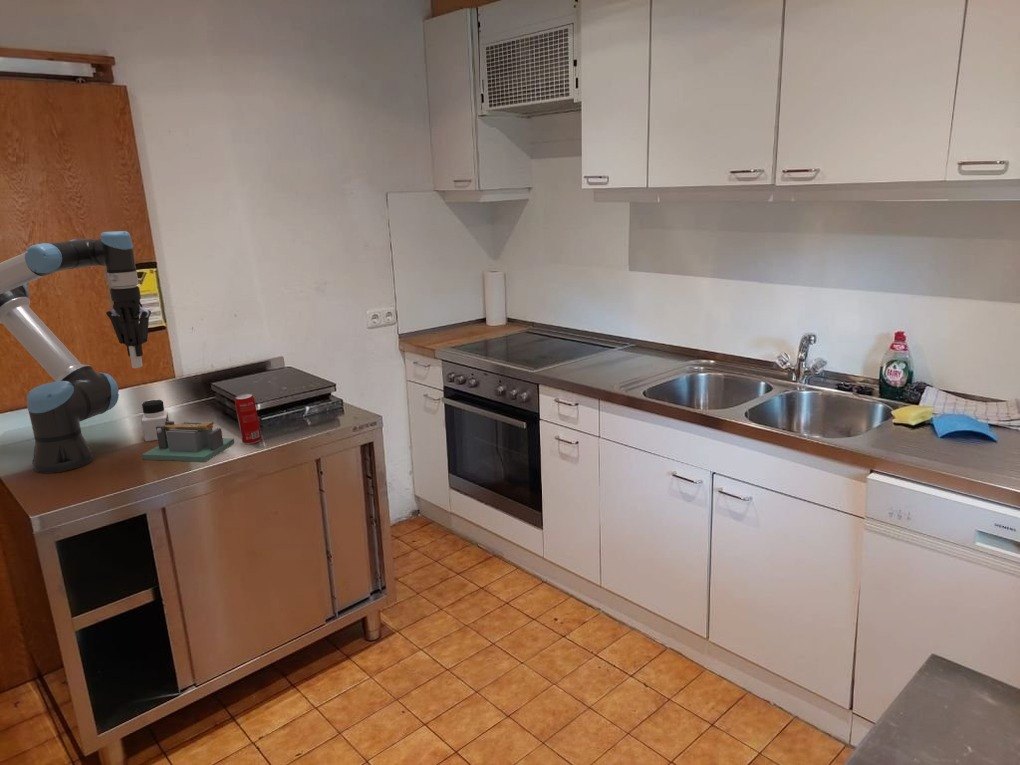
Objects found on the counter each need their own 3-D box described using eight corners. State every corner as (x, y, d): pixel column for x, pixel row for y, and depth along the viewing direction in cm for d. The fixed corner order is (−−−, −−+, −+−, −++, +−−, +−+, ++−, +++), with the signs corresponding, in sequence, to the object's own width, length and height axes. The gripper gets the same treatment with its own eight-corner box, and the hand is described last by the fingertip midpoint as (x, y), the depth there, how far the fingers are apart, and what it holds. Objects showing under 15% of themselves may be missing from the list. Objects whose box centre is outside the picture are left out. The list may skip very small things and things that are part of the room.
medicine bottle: (169, 438, 236) (163, 402, 233) (144, 441, 234) (138, 405, 230) (170, 431, 243) (164, 396, 239) (146, 435, 240) (140, 399, 237)
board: (143, 459, 219) (138, 432, 216) (176, 440, 234) (172, 415, 232) (204, 462, 215) (200, 434, 213) (234, 443, 230) (230, 417, 228)
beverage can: (265, 438, 233) (259, 392, 229) (253, 445, 227) (247, 398, 223) (248, 437, 235) (243, 391, 231) (236, 444, 229) (230, 397, 225)
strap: (160, 430, 222) (159, 425, 222) (167, 426, 226) (166, 421, 225) (207, 430, 219) (206, 425, 219) (214, 426, 223) (213, 421, 222)
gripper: (94, 288, 209) (109, 369, 215) (136, 288, 207) (149, 370, 213) (113, 284, 216) (126, 363, 222) (153, 284, 214) (165, 364, 220)
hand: (137, 367), depth 218 cm, fingers closed
